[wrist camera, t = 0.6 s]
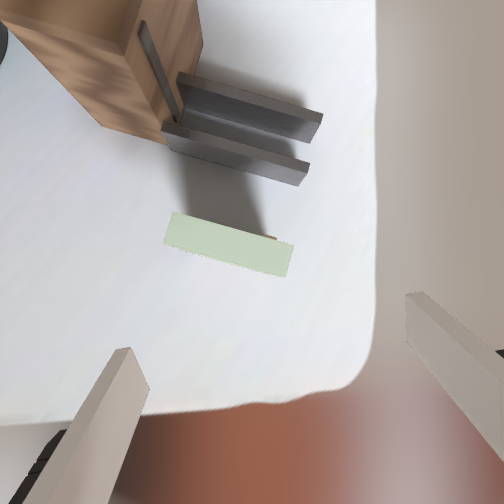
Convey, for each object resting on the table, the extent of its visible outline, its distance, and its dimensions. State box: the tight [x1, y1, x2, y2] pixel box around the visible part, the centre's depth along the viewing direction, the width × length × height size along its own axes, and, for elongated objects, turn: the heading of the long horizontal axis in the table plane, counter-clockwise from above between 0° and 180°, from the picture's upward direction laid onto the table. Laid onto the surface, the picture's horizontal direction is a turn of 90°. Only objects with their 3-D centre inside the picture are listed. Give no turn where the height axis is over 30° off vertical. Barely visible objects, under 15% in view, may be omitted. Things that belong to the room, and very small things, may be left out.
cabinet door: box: [163, 211, 294, 277], centre depth 28 cm, size 9×3×15 cm, turn 75°
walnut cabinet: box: [0, 0, 203, 145], centre depth 28 cm, size 10×15×17 cm, turn 165°
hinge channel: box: [160, 71, 323, 186], centre depth 34 cm, size 16×7×5 cm, turn 75°
